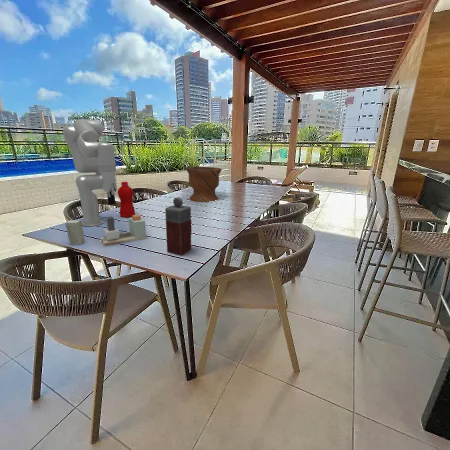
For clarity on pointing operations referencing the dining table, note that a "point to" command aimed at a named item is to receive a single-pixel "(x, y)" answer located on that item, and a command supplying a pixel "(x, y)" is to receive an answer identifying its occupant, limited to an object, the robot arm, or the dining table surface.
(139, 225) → the end cabinet
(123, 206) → the water bottle
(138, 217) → the button
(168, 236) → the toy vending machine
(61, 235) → the dining table surface
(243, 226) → the dining table surface
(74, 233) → the skincare box
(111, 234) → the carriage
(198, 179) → the wooden planter
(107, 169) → the robot arm
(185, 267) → the dining table surface
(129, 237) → the track
